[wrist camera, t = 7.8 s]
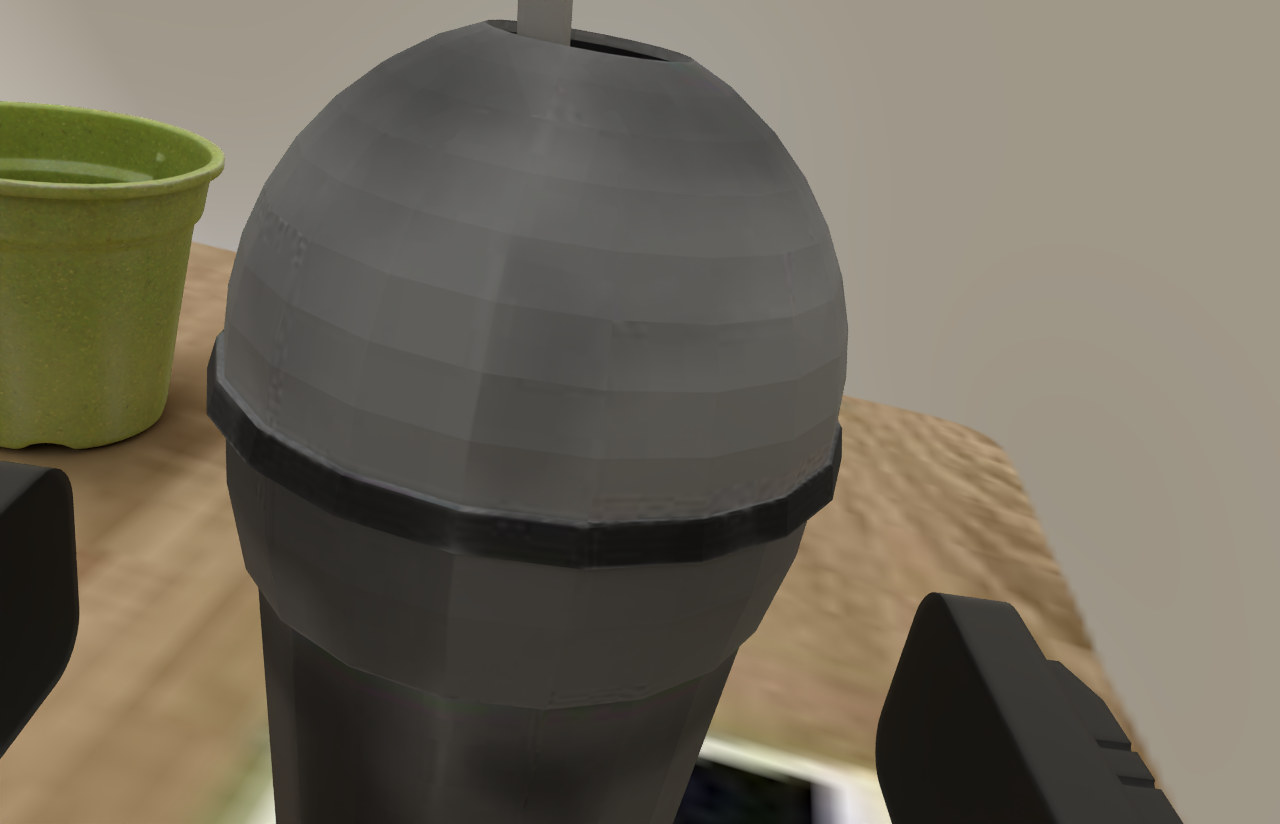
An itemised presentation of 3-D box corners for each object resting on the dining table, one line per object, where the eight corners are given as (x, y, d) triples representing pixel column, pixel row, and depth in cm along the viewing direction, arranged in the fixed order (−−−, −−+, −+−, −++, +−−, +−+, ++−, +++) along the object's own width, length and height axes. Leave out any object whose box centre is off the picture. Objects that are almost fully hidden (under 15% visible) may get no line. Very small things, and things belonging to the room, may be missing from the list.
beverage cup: (749, 1051, 17) (1236, -384, 9) (384, 1450, 12) (774, -1073, 4) (475, 790, 21) (646, -362, 13) (114, 1004, 16) (34, -685, 8)
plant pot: (282, 408, 35) (291, 158, 32) (43, 520, 27) (21, 200, 24) (76, 332, 38) (64, 93, 35) (-199, 414, 30) (-251, 111, 26)
